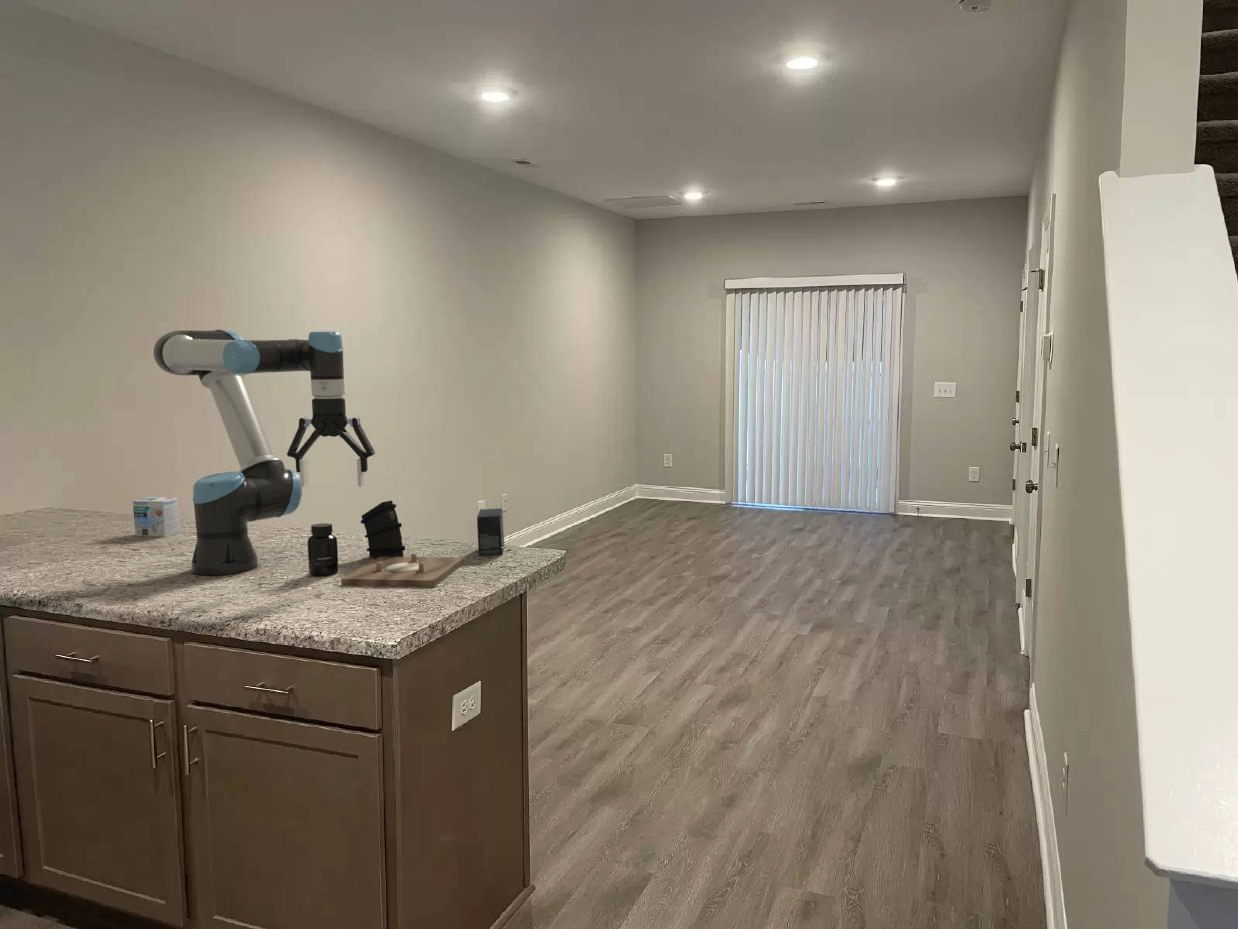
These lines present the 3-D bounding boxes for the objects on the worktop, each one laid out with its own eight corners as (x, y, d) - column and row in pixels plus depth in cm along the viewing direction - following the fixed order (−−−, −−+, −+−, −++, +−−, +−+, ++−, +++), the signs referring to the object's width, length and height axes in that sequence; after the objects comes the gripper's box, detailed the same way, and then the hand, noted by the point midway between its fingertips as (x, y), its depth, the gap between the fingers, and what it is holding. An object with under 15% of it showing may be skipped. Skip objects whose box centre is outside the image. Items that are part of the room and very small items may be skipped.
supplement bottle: (322, 578, 217) (319, 528, 216) (303, 575, 221) (299, 526, 219) (345, 572, 223) (342, 523, 222) (325, 569, 227) (322, 521, 225)
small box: (480, 547, 248) (478, 508, 246) (504, 546, 248) (503, 507, 247) (477, 556, 237) (475, 516, 236) (503, 555, 238) (501, 515, 236)
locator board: (341, 585, 211) (340, 570, 211) (379, 562, 233) (378, 548, 232) (434, 587, 208) (433, 571, 207) (464, 563, 229) (463, 549, 229)
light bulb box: (134, 536, 273) (131, 500, 271) (150, 531, 279) (147, 496, 278) (166, 537, 270) (162, 500, 269) (181, 532, 277) (178, 497, 275)
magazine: (400, 557, 230) (381, 501, 232) (373, 573, 238) (355, 519, 240) (413, 555, 233) (394, 499, 235) (385, 570, 241) (367, 516, 243)
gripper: (269, 398, 215) (275, 488, 218) (377, 398, 215) (380, 488, 218) (281, 396, 222) (286, 483, 225) (385, 395, 222) (388, 482, 225)
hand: (332, 485), depth 222 cm, fingers open, 13 cm apart
